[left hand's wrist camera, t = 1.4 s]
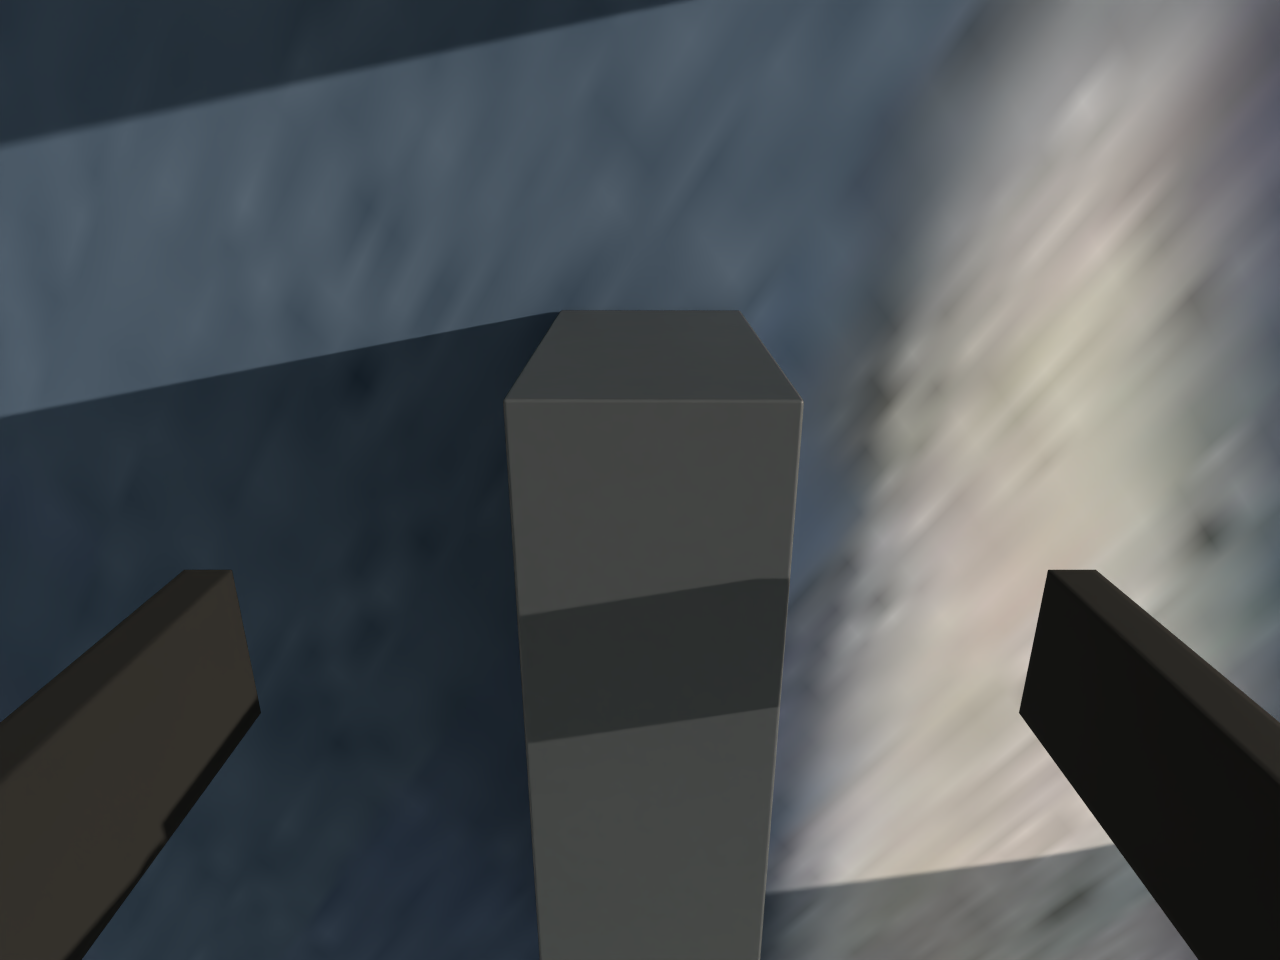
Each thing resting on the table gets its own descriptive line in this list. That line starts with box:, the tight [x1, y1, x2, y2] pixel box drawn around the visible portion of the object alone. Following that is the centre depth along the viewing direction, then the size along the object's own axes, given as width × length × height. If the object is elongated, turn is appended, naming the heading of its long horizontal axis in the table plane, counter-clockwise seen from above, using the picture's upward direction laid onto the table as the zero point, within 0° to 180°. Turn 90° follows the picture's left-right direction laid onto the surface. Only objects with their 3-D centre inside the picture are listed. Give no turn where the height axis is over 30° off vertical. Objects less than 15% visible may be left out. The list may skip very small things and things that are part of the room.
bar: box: [503, 310, 804, 960], centre depth 21 cm, size 23×5×9 cm, turn 0°
